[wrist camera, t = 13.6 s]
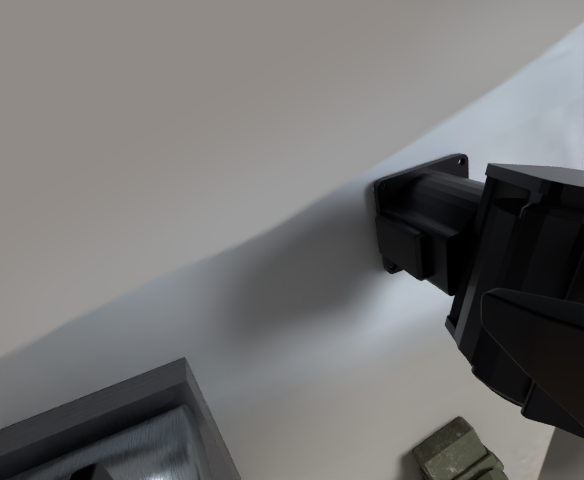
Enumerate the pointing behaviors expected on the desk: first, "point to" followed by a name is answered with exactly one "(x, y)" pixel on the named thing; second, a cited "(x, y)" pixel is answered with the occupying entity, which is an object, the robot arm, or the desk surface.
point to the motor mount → (123, 434)
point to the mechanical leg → (457, 455)
